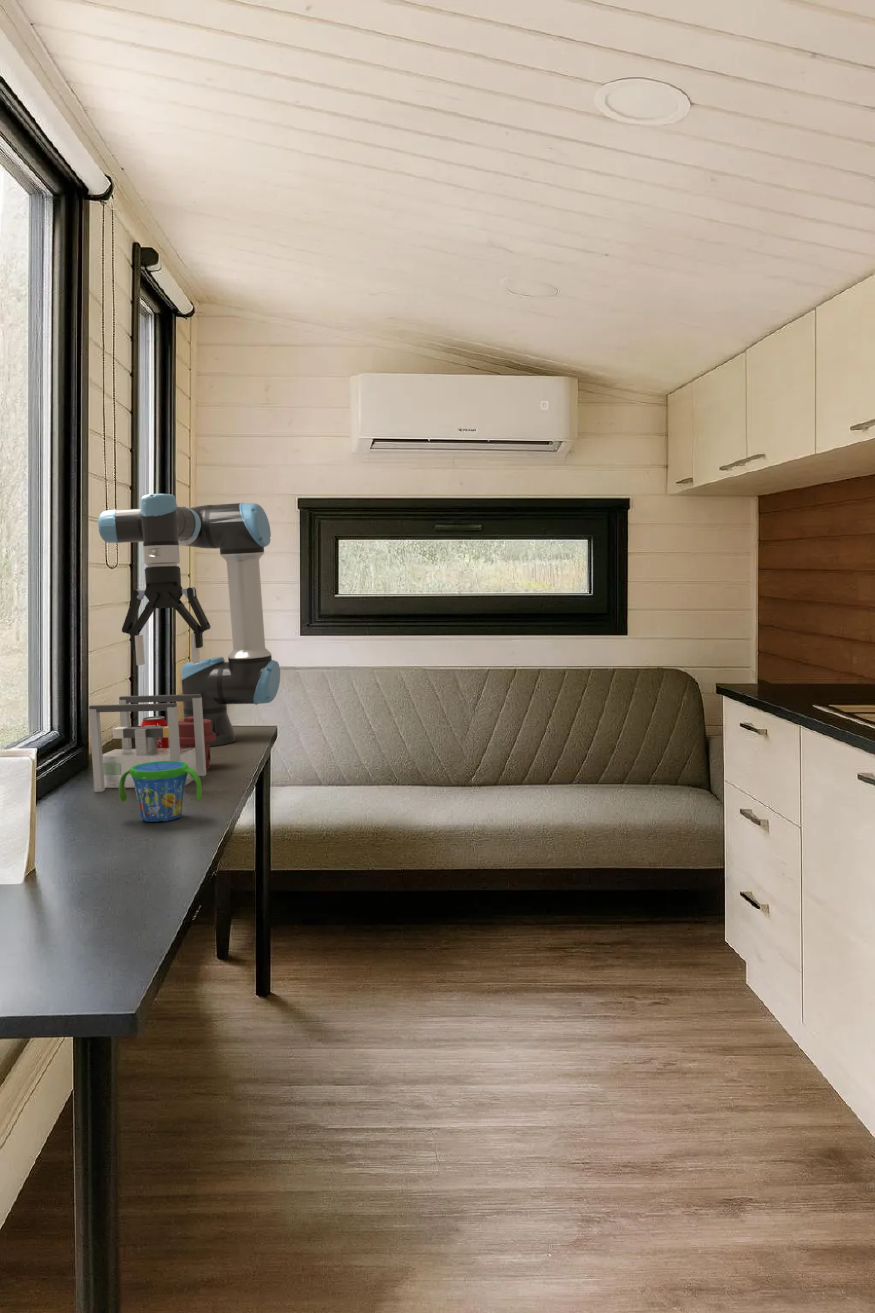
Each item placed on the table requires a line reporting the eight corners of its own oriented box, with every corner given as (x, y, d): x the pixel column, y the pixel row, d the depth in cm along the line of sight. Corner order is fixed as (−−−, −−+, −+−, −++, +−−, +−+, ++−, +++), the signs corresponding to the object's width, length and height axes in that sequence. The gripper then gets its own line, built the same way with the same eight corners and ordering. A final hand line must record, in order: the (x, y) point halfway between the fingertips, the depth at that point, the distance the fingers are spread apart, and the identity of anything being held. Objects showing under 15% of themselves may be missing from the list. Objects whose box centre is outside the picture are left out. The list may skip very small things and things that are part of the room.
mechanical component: (183, 764, 241) (222, 763, 240) (168, 773, 231) (209, 772, 230) (180, 714, 240) (220, 713, 239) (164, 721, 230) (206, 719, 229)
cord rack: (127, 776, 230) (121, 696, 228) (206, 774, 227) (201, 694, 226) (94, 792, 213) (88, 706, 212) (179, 790, 211) (174, 704, 209)
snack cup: (212, 812, 191) (209, 760, 190) (188, 826, 180) (184, 771, 179) (138, 811, 194) (134, 760, 193) (110, 825, 183) (106, 771, 183)
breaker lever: (118, 736, 222) (118, 727, 222) (178, 735, 220) (178, 725, 220) (113, 738, 219) (112, 729, 219) (173, 737, 217) (173, 727, 217)
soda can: (157, 769, 236) (154, 720, 235) (137, 768, 238) (134, 719, 237) (175, 764, 241) (172, 716, 240) (155, 763, 244) (152, 715, 243)
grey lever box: (117, 779, 226) (113, 725, 225) (197, 778, 224) (193, 723, 223) (98, 788, 217) (95, 732, 216) (182, 787, 215) (178, 730, 214)
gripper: (101, 567, 213) (108, 667, 215) (210, 563, 211) (215, 663, 212) (116, 567, 221) (122, 663, 223) (221, 563, 218) (227, 660, 220)
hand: (168, 664), depth 218 cm, fingers open, 12 cm apart
